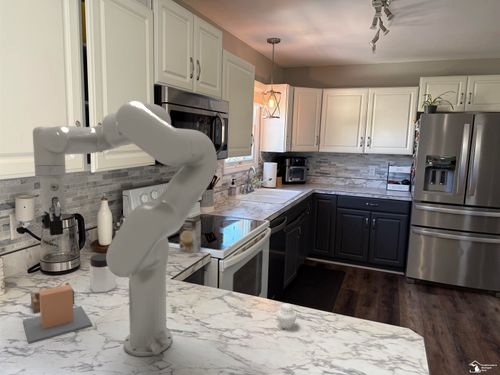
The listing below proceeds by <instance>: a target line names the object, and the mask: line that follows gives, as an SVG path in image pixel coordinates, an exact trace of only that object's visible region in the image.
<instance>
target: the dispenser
mask: <svg viewBox="0 0 500 375" xmlns="http://www.w3.org/2000/svg"><path fill="white" fill-rule="evenodd" d="M65 285H70V286H71V284H70V283H69V282H66V283H65ZM71 288H72V292H73V305H75V291H74V289H73V287H72V286H71ZM30 302H31V303H30V304H31V307H32V311H33V313H34V314H37V313H40V297H39V292H35V293H31V294H30Z"/></svg>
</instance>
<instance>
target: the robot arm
mask: <svg viewBox="0 0 500 375" xmlns="http://www.w3.org/2000/svg"><path fill="white" fill-rule="evenodd" d="M32 143H33V144H32V145H33V160H34V176H35V178H39V181H40V182H39V186H40V199H41V207H42V209H43V210H44V211H43V213H44V214H43V222H44V224H43V225H44V228H45V229H49V235H50V236H51V237H52V236H58V235H59V236H61V235H63V234H64V222H63V221H64V220H63V215H62V212H63V213H65V212H66V211H67V203H66V193H65V192H66V191H65V184H64V178H65V177H66V176H67V174H66V173H67V171H66V155H83V154H84V155H85V154H96V153H100V152H105V151H110V150H114V149H117V148H119V147H122V146H127V145H132V144H133V145H135V146H136V147H138V148H139V149H140V150H141V151H143V152H144V153H146V154H148V155H149V156H151V157H152V158H153V159H155V161H157V162H159V163H160V164H163V165H166V166H169V167H180V166H181V167H180V168H179V170H178V171H177V172H176V173H175V174H174V175H173V176H172V178H171V179H170V180H169V182H168V184H167V185H166V187H165V188H164V190H163V191H162V192H161V194H159V196H158V197H157V198H155V199H153V200H150V201H146V202H143V203H140V204H139V205H137V206H136V207H134V208H133V209H132V210H131V211H130V212H129V214H128V215H126V218H125V219H124V221H122V224H121V225H120V227H119V229H118V231H117V232H116V234H115V235H114V237H113V238H112V240H111V242H110V244H109V246H108V248H107V251H106V253H107V255H106V261H107V265H108V268H109V269H110V271H111V272H112V273H113V274H115V275H116V277H120V278H129V279H128V307H129V308H128V314H129V316H128V318H129V319H128V320H129V334H128V335H127V336H126V337H125V338H124V341H123V349H124V350H125V352H126V353H128V354H129V355H132V356H136V357H148V356H154V355H156V356H158V355H159V354H161V353H162V352H163V351H165V350H167V349H168V348H169V347H170V346H171V344H172V342H173V334H172V332H171V331H169V329H167V270H168V268H167V266H168V260H169V254H170V243H169V239H168V237H170V236H172V235H174V234H175V233H177V232H178V231H180V228H181V226H182V225H183V223H184V222H185V220H186V219H187V217H188V218H189V216H190V215H191V213H192V211H193V210H194V208H195V207H196V205H197V203H198V202H199V200H200V198H201V197H202V196H203V195H204V193H205V191H206V190H207V189H208V187H209V186H210V184H211V182H212V180H213V178H214V176H215V173H216V170H217V166H218V156H217V151H216V148H215V144H214V143H213V142H212V140H211V138H210V137H208V135H207V134H205V133H204V132H202V131H199V130H196V129H189V128H179V127H178V128H176V127H174V126H173V125H172V119H171V116H170V114H169V112H168V111H167V110H166V109H165V108H164V107H163V106H162V105H161V106H160V105H158V104H155V103H149V102H144V101H138V100H131V101H128V102H125V103H124V104H122V105H121V106H120V107H119V108H118V109H117V111H116V112H111V113H108V114H106V115H105V116H104V117H103V119H102V122H101V124H98V125H95V126H88V127H87V126H73V125H71V126H69V125H57V126H36V127H34V128H33V130H32Z"/></svg>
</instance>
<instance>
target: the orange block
mask: <svg viewBox="0 0 500 375" xmlns="http://www.w3.org/2000/svg"><path fill="white" fill-rule="evenodd" d="M71 287H72V286H71V284H70V285H66V284H65V285H61V286H57V287H52V288H45V289H42V290H39V291H38V293H39V297H40V312H39V313H40V316H41V325H42V328H43V329H46V328H49V327H53V326H57V325H61V324H64V323H68V322H72V321H74V314H73V308H74V304H73V292H72V289H73V287H72V288H71Z"/></svg>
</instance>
